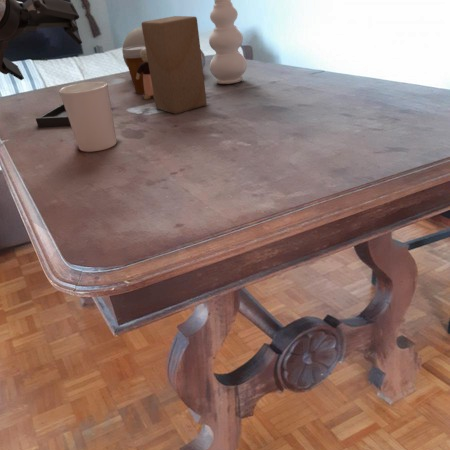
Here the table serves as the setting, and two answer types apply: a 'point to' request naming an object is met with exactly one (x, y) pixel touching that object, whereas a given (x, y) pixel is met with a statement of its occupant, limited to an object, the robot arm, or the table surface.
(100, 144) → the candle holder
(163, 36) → the wooden block
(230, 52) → the vase
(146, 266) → the table surface
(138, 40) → the decorative sphere
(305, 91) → the table surface
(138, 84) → the disposable coffee cup
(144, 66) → the grandmother figurine
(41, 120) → the black tray
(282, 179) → the table surface
